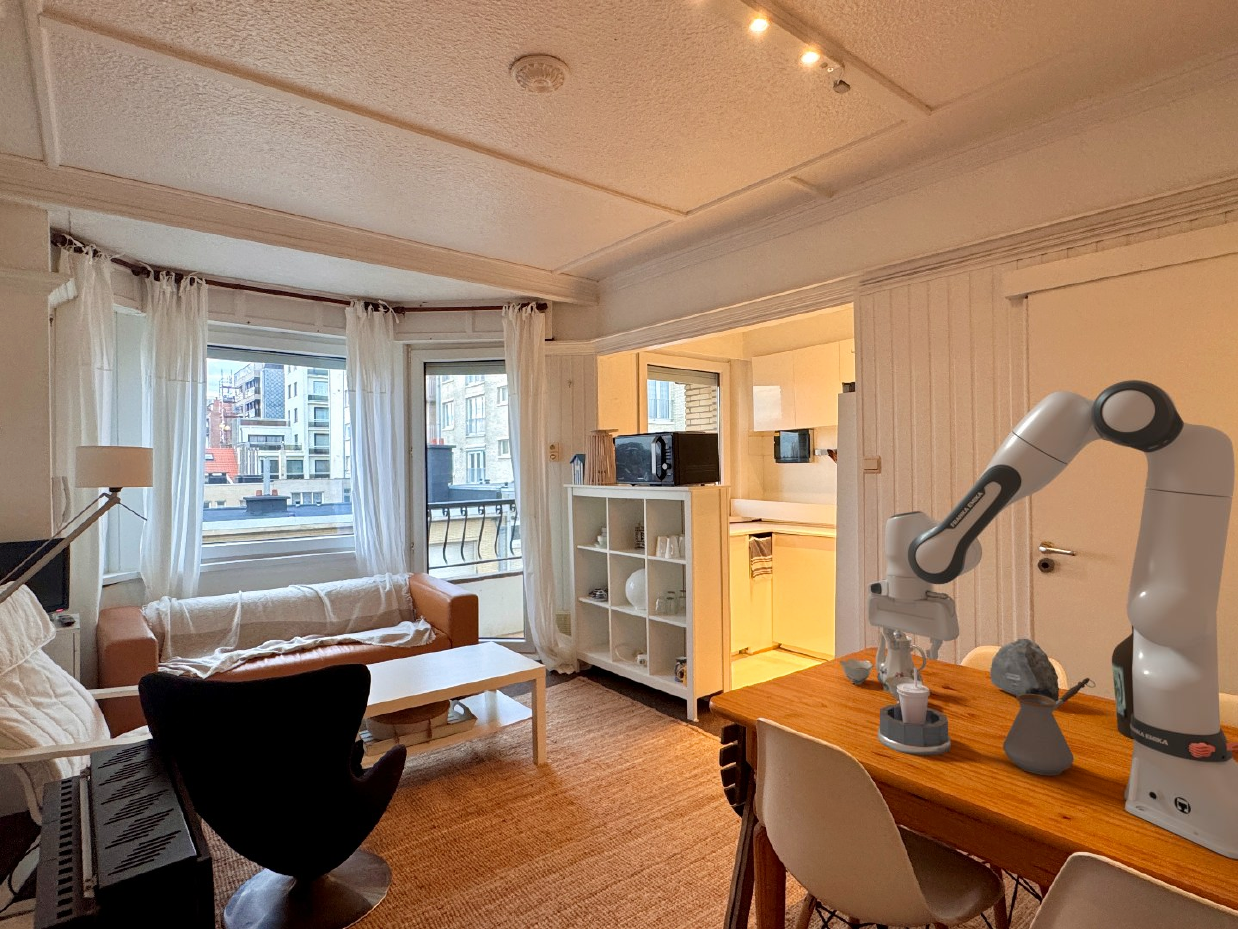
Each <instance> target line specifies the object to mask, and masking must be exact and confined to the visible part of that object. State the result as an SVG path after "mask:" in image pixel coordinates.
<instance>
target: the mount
mask: <svg viewBox="0 0 1238 929" xmlns="http://www.w3.org/2000/svg"><path fill="white" fill-rule="evenodd" d="M877 739H878V740H879V742H880V743H881V744H882V745H884V746H885V747H887V748H889V749H891V750H893V751H896V752H900V753H904V754H908V755H913V754H914V755H915V756H929V757H930V756H937V755H938V756H939V755H943V754H945V753H947V752H950V750H951V748H952V747H951V746H952V745H951V744H952V742H951V741H952V740H951V737H950V735H949V721H948V716H947V715H946V714H944V713H942V712H940V711H939V710H937V709H933V708H930V707H927V711H926V721H925V724H912V723H905V722H903V717H902V711H901V704H899V703H897V704H888V705H886V706H883V707H881V708H879V726H878V728H877Z"/></svg>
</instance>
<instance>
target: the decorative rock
mask: <svg viewBox="0 0 1238 929" xmlns="http://www.w3.org/2000/svg"><path fill="white" fill-rule="evenodd" d="M989 674H990V682H991V683H992V684H993V686H995V687H996V688H999V689H1001V690H1003V691H1004V692H1005V693H1009V694H1011V695H1013V696H1016V697H1017V696H1018V695H1020V694H1035V695H1041V696H1045V697H1048V698H1051V699H1053V700H1054V701H1055V702H1057V701H1058V700H1059V699H1060V698H1059V697H1060V692H1059V691H1060V688H1059V682H1058V681H1059V680H1058V679H1059V675H1058V673H1057V672H1056V668H1055V666H1054V664H1053V663H1052V662H1051V661H1050V660H1049V657H1048V654H1047V653H1046V652H1045V651H1043V650H1042V648H1041V647H1040V645H1038V644H1037V643H1036V642H1034V641H1032V640H1031V639H1030V638H1018V639H1017V640H1016V641H1013V642H1009V643H1007V644H1005V645H1003V646H1001V647H1000V648H999V649H998V651H997V652H996V653H995V655H994V657H993V658H992V660H991V667H990V669H989Z"/></svg>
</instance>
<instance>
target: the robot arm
mask: <svg viewBox="0 0 1238 929" xmlns="http://www.w3.org/2000/svg"><path fill="white" fill-rule="evenodd" d="M1097 440H1103V441H1108V442H1110V443H1113V444H1114V445H1117V446H1121V447H1125V448H1132V449H1135V450H1138V451H1139V452H1142V453H1143V454H1144V455H1145V457H1146V461H1147V472H1146V473H1147V474H1146V481H1145V486H1144V487H1145V489H1144V495H1143V503H1142V510H1141V517H1140V523H1139V530H1138V538H1137V542H1136V547H1135V552H1134V559H1133V563H1132V569H1131V575H1130V581H1129V588H1128V593H1127V598H1126V599H1127V600H1126V605H1125V606H1126V607H1125V608H1126V615H1127V618H1128V620H1129V622H1130V624H1131V627H1132V626H1133V627H1134V639H1133V665H1132V678H1133V706H1134V713H1133V714H1132V715H1131V723H1130V728H1131V736H1132V737H1133V738H1134V739H1133V748H1132V756H1131V761H1130V762H1131V763H1130V772H1129V777H1128V781H1127V784H1126V785H1127V786H1126V789H1125V791H1124V792H1123V795H1124V798H1125V800H1126V801H1125V805H1124V806H1125V807H1124V809H1125V811H1126V812H1128V813H1129V814H1131V815H1133V816H1136V817H1139V818H1141V819H1143V820H1145V821H1147V822H1150V823H1152V824H1154V825H1155V826H1158V827H1160V828H1162V829H1165V830H1167V831H1169V832H1171V833H1173V834H1176V835H1178V836H1179V837H1182V838H1185V839H1187V840H1188V841H1191V842H1194V843H1196V844H1198V845H1200V846H1202V847H1205V848H1206V849H1209V850H1211V851H1213V852H1215V853H1217V854H1219V855H1221V856H1225V857H1226V858H1227V857H1228V858H1230V859H1235V860H1238V762H1237V761H1236V760H1235V759H1234V754H1233V751H1236V750H1237V751H1238V747H1236V746H1238V742H1237V741H1236V742H1235V741H1234V742H1229V741H1228V739H1227V737H1226V735H1225V733H1224V730H1223V729H1222V728H1221V721H1220V720H1221V719H1220V718H1221V716H1220V694H1219V693H1220V692H1219V661H1218V660H1219V659H1218V656H1219V655H1218V653H1219V652H1218V628H1217V625H1218V624H1217V623H1218V622H1217V620H1218V619H1217V610H1218V605H1219V597H1220V596H1219V595H1220V589H1221V582H1222V575H1223V567H1224V559H1225V553H1226V548H1227V547H1226V546H1227V545H1226V544H1227V541H1228V540H1227V538H1228V531H1229V526H1230V519H1231V511H1232V506H1233V505H1232V504H1233V497H1234V489H1235V455H1234V448H1233V447H1234V446H1233V442H1232V440H1231V438H1230V437H1229V436H1228V435H1227V434H1226V433H1225V432H1224V431H1221V430H1219V429H1217V428H1214V427H1211V426H1207V425H1203V424H1202V425H1201V424H1193V423H1192V424H1191V423H1187V422H1185V421H1183V419H1182V417H1181V415H1180V414H1179V412H1178V410H1177V406H1176V404H1175V401H1174V400H1173V398H1172V396H1171V395H1170V394H1169V392H1166V391H1165V390H1164V389H1162V388H1161V387H1159V386H1157V385H1156V384H1153V383H1152V382H1148V381H1146V380H1145V381H1144V380H1138V379H1136V380H1135V379H1132V380H1131V379H1130V380H1124V381H1119V382H1116V383H1113V384H1112V385H1110V386H1108V387H1106V388H1105V389H1103V390H1102V391H1101V392H1100V393H1099V394H1098V395H1097V397H1096V398H1095V399H1091V398H1087V397H1085V396H1083V395H1080V394H1079V393H1075V392H1072V391H1066V390H1065V391H1063V390H1060V391H1059V390H1058V391H1055V392H1052V393H1050V394H1048V395H1047V396H1045V397H1043V399H1041V401H1039V402H1038V403H1037V404H1035V406H1033V407H1032V408H1031V409H1030V411H1029V412H1027V414H1025V415H1024V416H1023V418H1022V419H1021V420H1020V421H1019V422H1018V423H1017V424H1016V425H1015V426H1014V427H1013V429H1012V430H1011V431H1010V432H1009V434H1008V435H1007V436H1006V437H1005V439H1004V440H1003V442H1002V443H1001V445H1000V446H999V447H998V449H997V450H996V452H995V454H993V457H992V458H991V459H990V461H989V463H988V464H987V466H986V467H985V469H984V470H983V472H982V474H981V475H980V476H979V477H978V480H977V481H976V482H975V483H974V484H973V485H972V487H971V488H970V489H969V491H968V492H967V493H966V494H965V495H964V496H963V497H962V498H961V500H960V501H959V502H958V503H957V504H956V506H954V507H953V509H952V510H951V511H950V512H949V514H948V515H947V516H946V517H945V518H944V519H943V520H942V521H938V520H937V519H935V518H932V517H931V516H929V515H928V514H927V513H926V512H923V511H921V510H920V511H919V510H915V511H910V512H904V513H898V514H893V515H892V516H890V517H889V518H888V519H887V521H886V524H885V529H884V530H885V532H884V554H885V558H886V561H887V566H886V567H887V568H886V571H885V574H886V575H885V576H886V578H884V579H881V580H878V581H875V582H871V583H868V584H867V586H866V587H867V588H866V589H867V592H868V593H869V595H868V597H867V601H866V612H867V613H866V615H867V621H868V622H869V624H870V625H871V626H873V627H877V628H882V634H883V635H884V638H885V637H886V638H885V640H886V639H887V640H886V642H887V641H888V644H887V649H888V648H889V649H891V650H899V641H896V639H895V637H894V634H893V632H896V631H901V632H903V633H906V634H912V635H916V636H920V637H926V638H929V643H930V644H931V646H930V648H929V649H926V650H925V656H926V659H928V660H933V661H935V660H938V659H939V650H940V648H941V646H942V645H943V642H950V641H955V640H957V638H958V637H959V636H960V626H959V619H958V614H957V610H956V601H955V600H954V599H953V597H951V596H949V594H948V593H945V592H941V593H940V592H937V591H933V585H945V584H948V583H950V582H952V581H954V580H956V578H959V577H960V576H963V575H964V574H966V573H969V572H970V571H972V570H973V569H975V568H976V567H977V566H978V565H979V564H980V562H981V559H982V556H983V548H982V545H981V543H980V540H979V539H978V537H979V536H980V535H981V534H982V533H983V531H984V530H986V528H987V527H988V526H989V525H990V524H991V523H992V522H993V521H994V520H995V518H996V517H998V515H999V514H1000V513H1002V511H1004V510H1005V509H1007V508H1008V507H1009V506H1012V504H1014V503H1015V502H1018V501H1020V500H1021V499H1024V498H1026V497H1029V496H1030V495H1033V494H1036V493H1038V492H1039V491H1042V489H1044V488H1045V487H1046V486H1048V485H1049V484H1050V483H1052V482H1053V481H1054V480H1055V479H1056V478H1057V477H1058V476H1060V474H1061V473H1063V472H1064V470H1065V469H1066V468H1067V467H1068V466H1069V464H1071V462H1072V461H1073V460H1074V459H1075V458H1076V456H1077V455H1078V454H1079V453H1080V452H1081V451H1082V450H1083V449H1084V448H1085V447H1087V445H1089V444H1091V443H1092V442H1095V441H1097ZM895 630H896V631H895Z"/></svg>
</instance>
